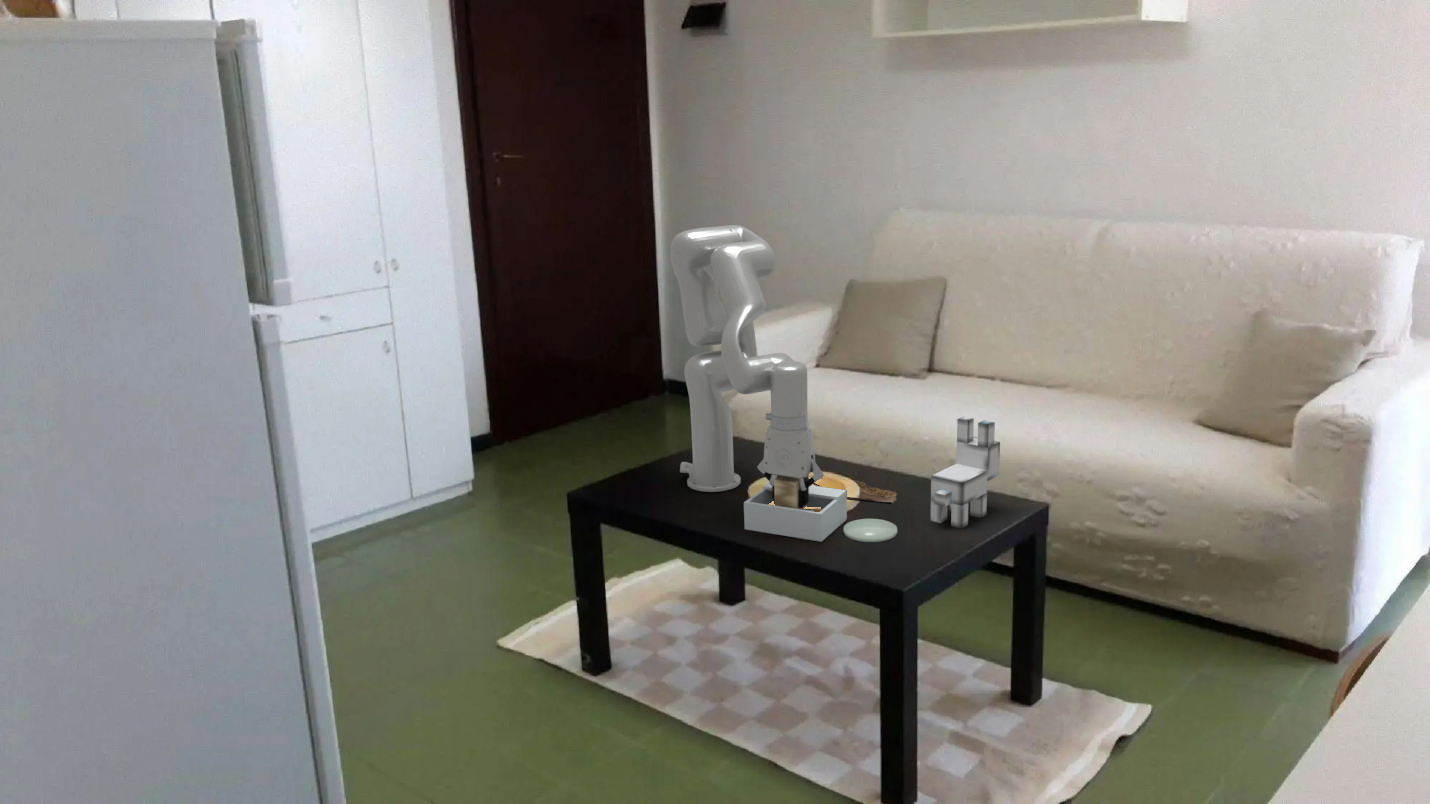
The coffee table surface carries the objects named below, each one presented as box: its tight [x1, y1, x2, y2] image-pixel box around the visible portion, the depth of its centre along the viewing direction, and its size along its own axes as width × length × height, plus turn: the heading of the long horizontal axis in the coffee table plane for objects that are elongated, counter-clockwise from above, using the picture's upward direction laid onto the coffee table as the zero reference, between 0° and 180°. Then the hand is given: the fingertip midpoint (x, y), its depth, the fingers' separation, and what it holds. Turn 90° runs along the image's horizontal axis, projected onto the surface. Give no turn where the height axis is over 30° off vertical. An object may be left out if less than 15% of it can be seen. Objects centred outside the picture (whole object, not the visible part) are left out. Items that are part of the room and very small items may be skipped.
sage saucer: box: [843, 518, 898, 543], centre depth 238 cm, size 11×11×1 cm
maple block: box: [774, 476, 806, 510], centre depth 241 cm, size 5×5×7 cm
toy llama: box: [930, 416, 1001, 529], centre depth 242 cm, size 8×18×20 cm, turn 137°
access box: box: [743, 481, 848, 543], centre depth 243 cm, size 18×14×7 cm
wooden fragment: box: [852, 479, 898, 505], centre depth 263 cm, size 26×11×1 cm, turn 42°
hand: (790, 503), depth 241 cm, fingers closed on maple block, 5 cm apart
